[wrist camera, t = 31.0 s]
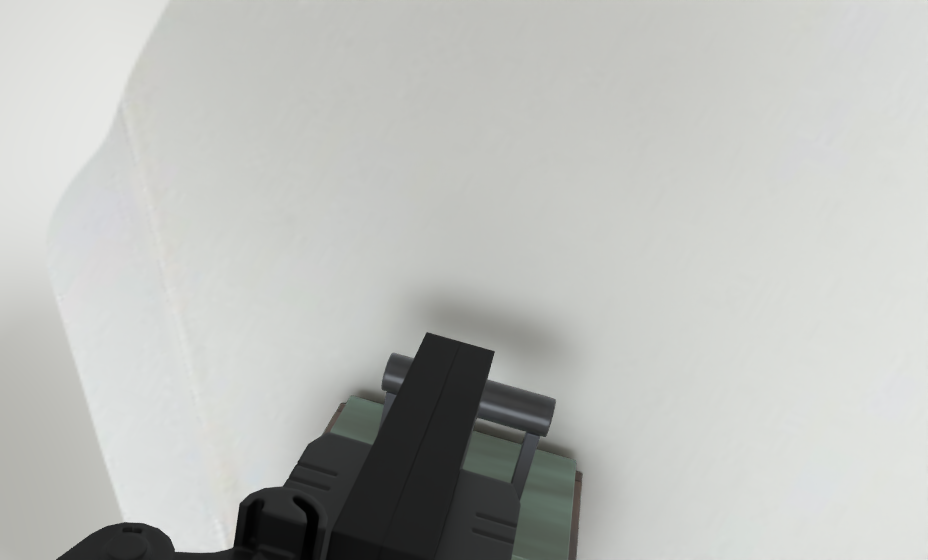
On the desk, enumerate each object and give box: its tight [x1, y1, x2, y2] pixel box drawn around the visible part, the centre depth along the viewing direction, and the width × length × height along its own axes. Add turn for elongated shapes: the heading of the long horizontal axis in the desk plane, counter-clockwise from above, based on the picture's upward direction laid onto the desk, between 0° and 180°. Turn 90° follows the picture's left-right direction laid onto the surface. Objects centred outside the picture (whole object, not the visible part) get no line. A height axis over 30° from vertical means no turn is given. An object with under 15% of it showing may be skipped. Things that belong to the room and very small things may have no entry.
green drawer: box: [330, 353, 576, 560], centre depth 40 cm, size 19×11×8 cm, turn 167°
